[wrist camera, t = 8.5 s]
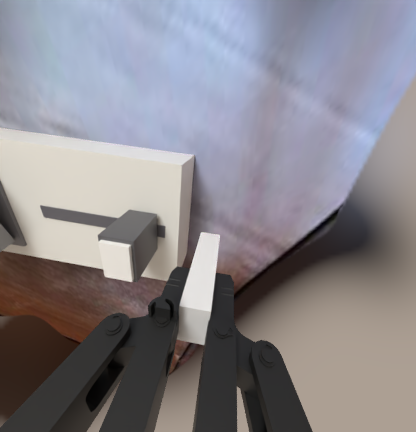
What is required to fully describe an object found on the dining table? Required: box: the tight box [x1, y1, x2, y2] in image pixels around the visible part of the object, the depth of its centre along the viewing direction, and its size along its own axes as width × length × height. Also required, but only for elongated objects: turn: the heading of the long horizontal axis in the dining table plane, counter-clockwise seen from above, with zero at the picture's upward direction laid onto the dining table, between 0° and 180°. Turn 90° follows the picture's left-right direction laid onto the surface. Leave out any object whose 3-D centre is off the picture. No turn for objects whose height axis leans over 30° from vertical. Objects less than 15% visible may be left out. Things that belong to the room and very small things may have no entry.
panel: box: [0, 128, 195, 281], centre depth 19 cm, size 30×12×5 cm, turn 83°
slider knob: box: [98, 210, 158, 282], centre depth 14 cm, size 2×4×4 cm, turn 173°
